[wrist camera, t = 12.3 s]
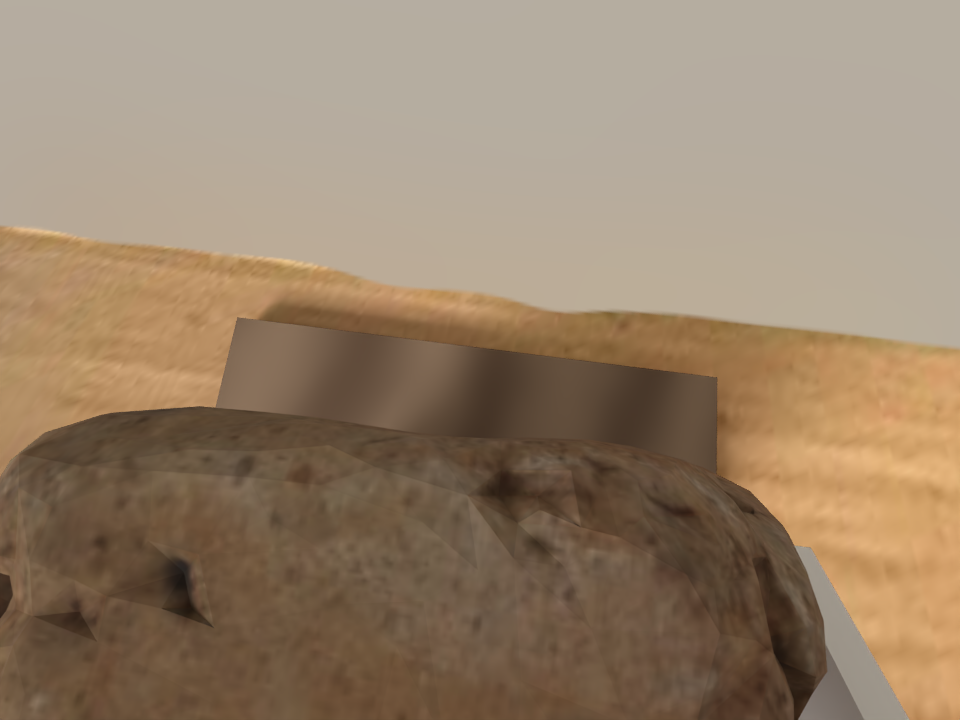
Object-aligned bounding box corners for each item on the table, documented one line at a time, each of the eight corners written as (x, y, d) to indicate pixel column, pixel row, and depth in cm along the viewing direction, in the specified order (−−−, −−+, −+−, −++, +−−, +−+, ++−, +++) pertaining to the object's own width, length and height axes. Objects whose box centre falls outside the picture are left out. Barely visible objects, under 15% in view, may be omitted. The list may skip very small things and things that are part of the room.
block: (307, 643, 23) (-571, 1504, 3) (337, 452, 25) (-132, 295, 5) (580, 671, 23) (1248, 1660, 3) (591, 479, 25) (1081, 425, 5)
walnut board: (703, 384, 28) (717, 377, 26) (696, 820, 23) (712, 840, 22) (248, 327, 28) (237, 317, 26) (147, 756, 23) (126, 773, 21)
